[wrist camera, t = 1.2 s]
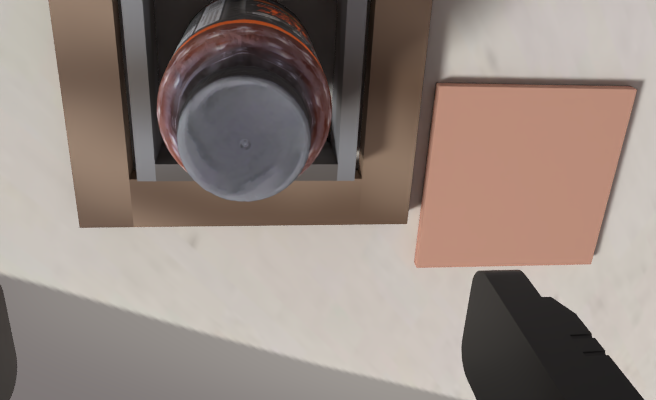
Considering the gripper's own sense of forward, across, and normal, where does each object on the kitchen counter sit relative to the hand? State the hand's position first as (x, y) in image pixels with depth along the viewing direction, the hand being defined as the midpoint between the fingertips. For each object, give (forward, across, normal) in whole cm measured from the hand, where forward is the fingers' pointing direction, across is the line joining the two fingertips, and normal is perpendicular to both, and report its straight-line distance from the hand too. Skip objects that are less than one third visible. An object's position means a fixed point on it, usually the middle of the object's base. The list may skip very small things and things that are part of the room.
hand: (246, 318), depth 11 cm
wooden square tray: (+20, 0, 0) cm, 20 cm away
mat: (+20, -14, +6) cm, 25 cm away
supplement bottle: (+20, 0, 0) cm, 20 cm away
